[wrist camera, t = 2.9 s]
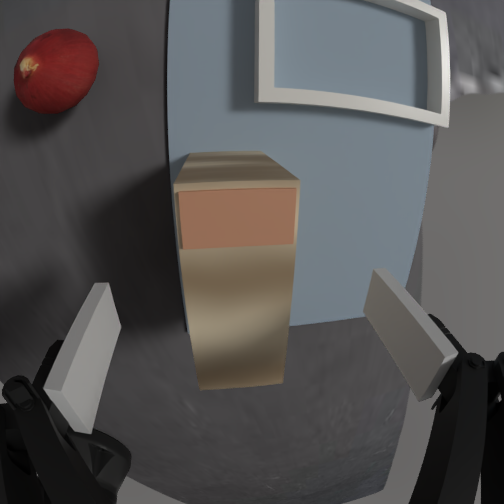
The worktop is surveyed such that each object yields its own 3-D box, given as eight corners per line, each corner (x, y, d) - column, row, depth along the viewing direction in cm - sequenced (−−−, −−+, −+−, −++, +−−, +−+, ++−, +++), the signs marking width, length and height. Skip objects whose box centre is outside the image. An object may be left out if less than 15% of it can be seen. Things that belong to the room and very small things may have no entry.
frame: (433, 125, 21) (448, 127, 19) (254, 102, 19) (258, 101, 17) (432, 16, 16) (445, 12, 14) (255, -28, 14) (259, -39, 12)
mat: (396, 309, 30) (398, 310, 30) (188, 331, 27) (187, 333, 27) (426, -13, 15) (428, -13, 15) (176, -55, 12) (175, -57, 12)
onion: (35, 97, 16) (-28, 99, 9) (70, 31, 14) (16, 7, 7) (88, 123, 18) (33, 133, 11) (127, 55, 16) (86, 28, 9)
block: (258, 293, 26) (283, 385, 17) (200, 297, 25) (199, 392, 16) (260, 150, 21) (302, 181, 12) (190, 152, 20) (172, 185, 11)
